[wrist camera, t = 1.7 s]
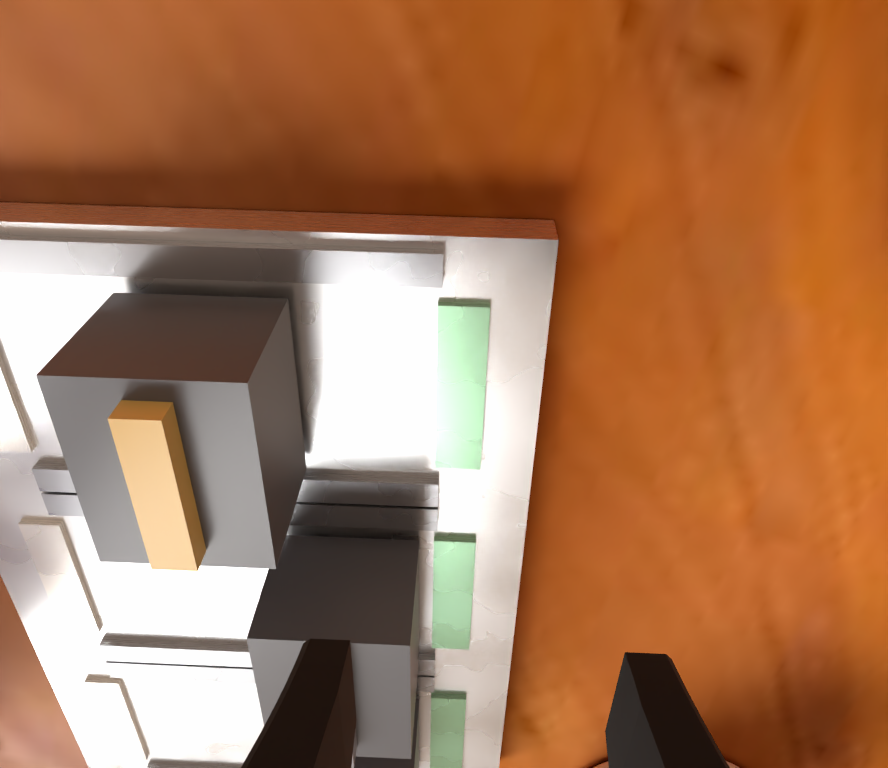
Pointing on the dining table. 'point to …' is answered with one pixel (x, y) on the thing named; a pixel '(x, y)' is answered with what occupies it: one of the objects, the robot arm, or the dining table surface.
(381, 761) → the breaker
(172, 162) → the dining table surface
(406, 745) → the breaker
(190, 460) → the block
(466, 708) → the breaker panel
